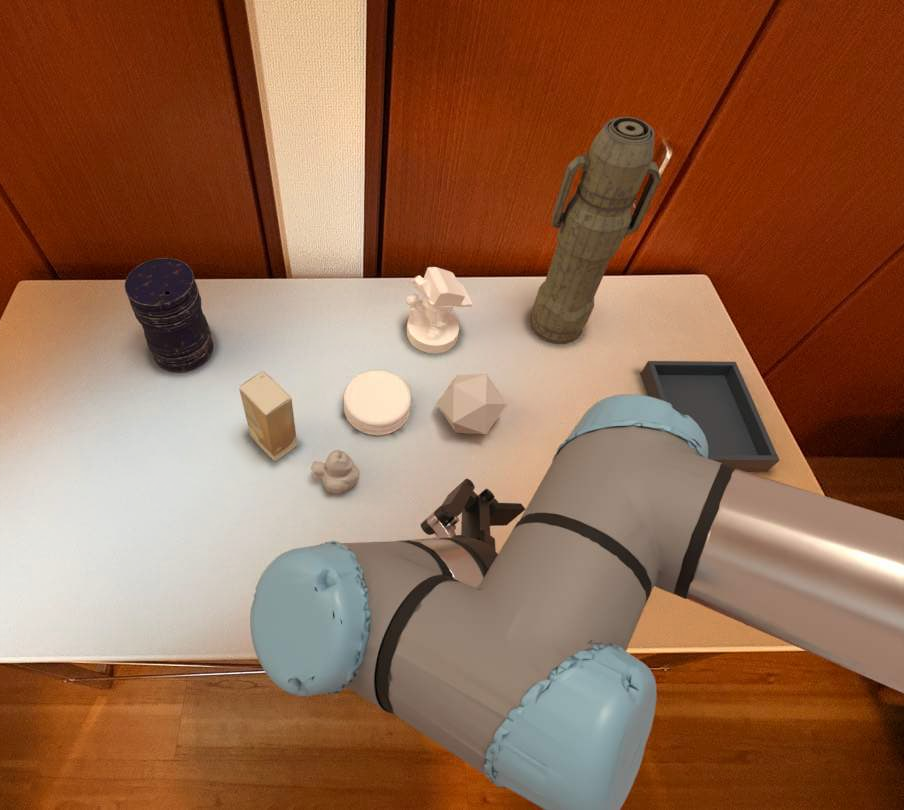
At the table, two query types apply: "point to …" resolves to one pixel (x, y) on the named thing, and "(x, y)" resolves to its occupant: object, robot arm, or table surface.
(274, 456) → the cosmetic box
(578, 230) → the thermos
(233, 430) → the table surface
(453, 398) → the die
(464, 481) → the robot arm
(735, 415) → the tray
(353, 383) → the coaster
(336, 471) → the rubber duck
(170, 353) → the dark blue cylinder
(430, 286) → the character figurine
